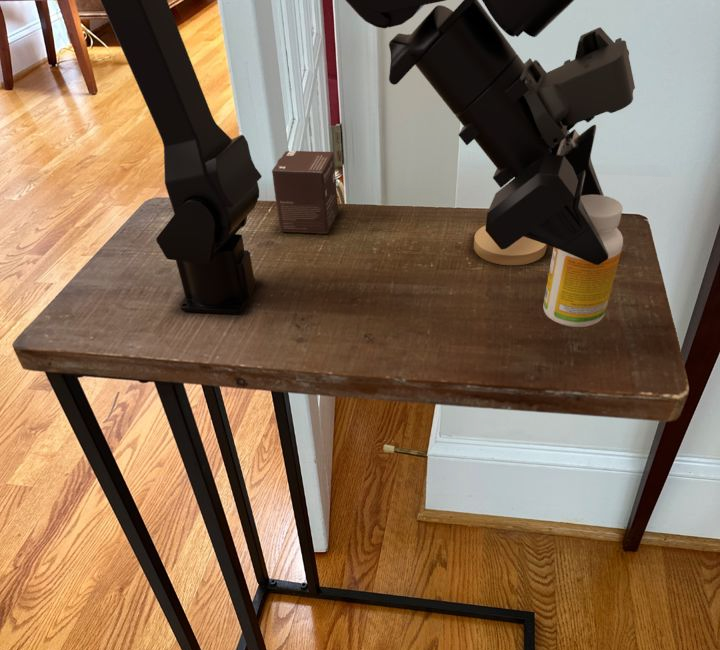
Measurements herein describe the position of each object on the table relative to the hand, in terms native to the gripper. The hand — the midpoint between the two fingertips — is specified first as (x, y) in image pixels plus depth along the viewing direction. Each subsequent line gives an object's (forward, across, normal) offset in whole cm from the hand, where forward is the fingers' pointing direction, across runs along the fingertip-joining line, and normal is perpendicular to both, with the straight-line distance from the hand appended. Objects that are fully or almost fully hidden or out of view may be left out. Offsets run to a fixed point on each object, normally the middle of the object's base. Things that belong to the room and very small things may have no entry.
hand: (606, 244), depth 56 cm
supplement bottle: (+4, 0, +6) cm, 7 cm away
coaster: (+1, +17, +14) cm, 22 cm away
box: (-16, +18, +32) cm, 40 cm away
